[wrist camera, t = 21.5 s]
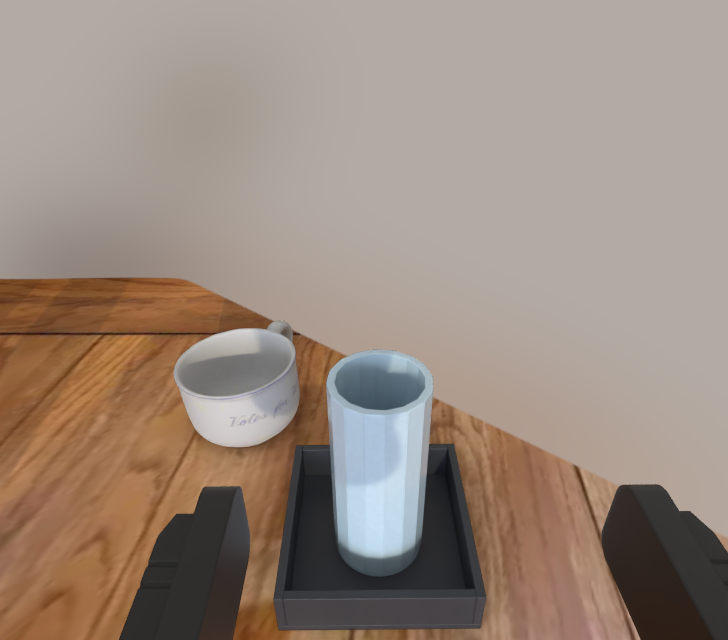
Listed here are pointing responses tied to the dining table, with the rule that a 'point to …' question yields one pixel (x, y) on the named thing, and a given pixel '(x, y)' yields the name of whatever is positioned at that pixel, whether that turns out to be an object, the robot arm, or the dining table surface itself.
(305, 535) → the tray
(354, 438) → the tumbler
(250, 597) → the dining table surface
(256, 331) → the teacup
